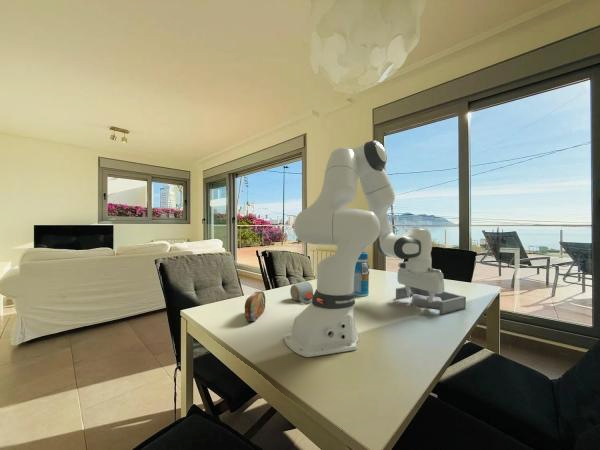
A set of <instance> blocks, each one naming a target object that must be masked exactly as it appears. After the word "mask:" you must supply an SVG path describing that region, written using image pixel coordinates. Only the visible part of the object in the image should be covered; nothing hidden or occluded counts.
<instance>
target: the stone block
mask: <svg viewBox="0 0 600 450" xmlns="http://www.w3.org/2000/svg"><path fill="white" fill-rule="evenodd" d="M411 297H412V298H411V302H410V303H412V304H411V305H412V306H413V307H414V306H415V307H422V308H431V309H437V310H438V309H439V310H440V301H442V300H441V298H440V297H433V298H432V302H431V303H429V302H427V301H426V300H427V299H426V298H427V297H429V296H422V295H418V294H413V296H411Z"/></svg>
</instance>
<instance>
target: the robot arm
mask: <svg viewBox="0 0 600 450" xmlns="http://www.w3.org/2000/svg"><path fill="white" fill-rule="evenodd" d="M387 159H388V157H387V152H386V149H385V148H384V146H383V144H382V143H381V142H379V141H377V140H374V139H373V140H370V141H367V142H365V143H364V144H361V145H358V146H356V147H354V148H352V149H350V148H348V147H338V148H335V149H334V150H333V151H332V152H331V154H330V155H329V158H328V160H327V163H326V167H325V169H324V170H325V171H324V176H323V177H324V178H323V183H322V187H321V192H320V194H319V195H318V197H317V198H316V200H315V201H314V202H313V203H311V204H310V206H309V207H307V208H305V209H303V210H302V211H300V212H299V213H298V214H297V215H296V217H295V219H294V224H293V230H294V233H295V236H296V237H297V239H298V240H299V241H300V242H303V243H306V244H311V245H318V246H319V245H321V246H324V245H325V246H336V247H337V248H336V249H337V250H336V252H335V253H334V254H332V255H329V256H327V257H325V258H324V259H321V261H320V262H318V265H317V267H316V289H315V291H314V292H313V293H311V292H306V295H305V297H306V298H308V299H307V300H311V299H312V303H310V304H308V306H307V307H305V308H304V310H302V311H301V312H300V313H299V314H298V315H297V316H296V317H295V318H294V320H293V322H292V327H291V331H289V332H286V333H285V334H284V337H283V338H284V343H285V345H286V346H287V347H288V348H289V349H290V350H291V351H292V352H294V353H295V354H297V355H299V356H301V357H305V358H312V357H313V358H314V357H318V356H325V355H331V354H336V353H337V354H339V353H344V352H349V351H350V352H351V351H355V350H357V347H358V345H357V343H358V341H359V339H360V338H359V334H358V332H357V331H358V330H357V325H356V319H355V309H354V306H355V303H356V295H355V292H354V290H353V284H354V271H355V266H356V262H357V260H358V258H359V256H360V255H361V253H362V252H365V250H366V249H367V248H368V247H369V246H371V245H372V244H374V243H375V242H376V240H377V248H378V251H379V253H380V254H381V255H382V256H384V257H388V258H395V259H397V260H398V259H399V260H407V261H402V262H399V263H398V266H397V267H398V270H397V282H398V283H399V285H403V286H404V287H405V289H406V291H407V296H410V297H413V296H412V294H413V292H411V290H410V287H414V288H418V289H421V290H425V291H429V294H430V296H429V297H427V298H426V299H427V300H426V301H427V302H429V303H431V302H432V298H433V297H434V295H435V293H436V294H440V293H443V292H444V291H445V281H444V276H445V275H444V273H443V272H442V271H441V269H436V268H433V267H432V264H433V263H432V261H433V260H432V253H431V252H432V251H433V250H432V249H433V241H432V238H433V237H432V233H431V231H430V230H429V229H427V228H423V227H414V226H413V227H411V228H409V230H408V231H406V232H404V233H401V234H399V235H397V234H395V233H394V232H393V231H392V228H391V226H390V223H389V218H388V215H387V214H388V210H389V209H390V208H391V207H392V205H393V204H394V201H395V199H396V198H395V197H396V196H395V191H394V187H393V186H392V182H391V180H390V177H389V176H388V174H387V172H386V170H385V168H384V167H385V166H386V164H387ZM358 179H359V181H360V182H359V183H360V187H361V188H362V192H363V194H364V197H365V200H366V201H367V205H368V207H369V210H367V209H361V208H345V207H347V206H349V205H351V203H353V202H354V200H355V198H356V197H357V193H358V192H357V190H358ZM410 297H409V298H410Z"/></svg>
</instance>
